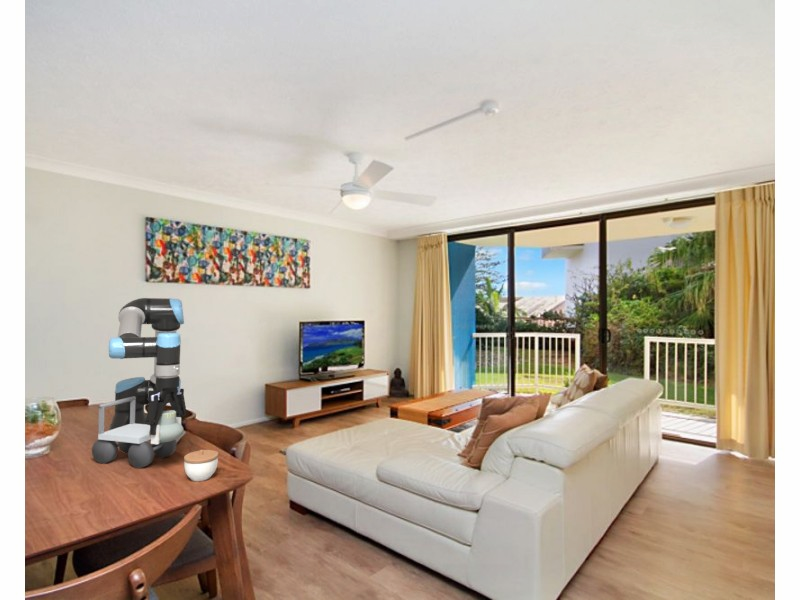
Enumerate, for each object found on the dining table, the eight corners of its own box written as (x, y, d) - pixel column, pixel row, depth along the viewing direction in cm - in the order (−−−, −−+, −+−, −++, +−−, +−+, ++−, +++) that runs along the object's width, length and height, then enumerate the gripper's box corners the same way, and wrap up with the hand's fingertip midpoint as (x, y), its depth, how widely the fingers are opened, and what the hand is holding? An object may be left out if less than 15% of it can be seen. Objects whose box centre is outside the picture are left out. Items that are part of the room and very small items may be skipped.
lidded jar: (182, 486, 140) (183, 457, 140) (184, 474, 150) (185, 447, 150) (218, 481, 144) (218, 453, 144) (217, 470, 154) (218, 443, 154)
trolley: (124, 450, 173) (125, 395, 173) (177, 456, 167) (179, 399, 167) (89, 463, 158) (91, 403, 159) (146, 470, 153) (148, 408, 153)
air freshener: (186, 439, 154) (187, 411, 154) (163, 445, 147) (164, 416, 147) (168, 434, 159) (169, 407, 160) (145, 440, 152) (146, 412, 152)
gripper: (152, 381, 142) (150, 450, 141) (198, 372, 164) (196, 431, 163) (133, 380, 144) (131, 448, 143) (181, 371, 165) (179, 430, 165)
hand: (166, 439), depth 153 cm, fingers closed on air freshener, 10 cm apart
